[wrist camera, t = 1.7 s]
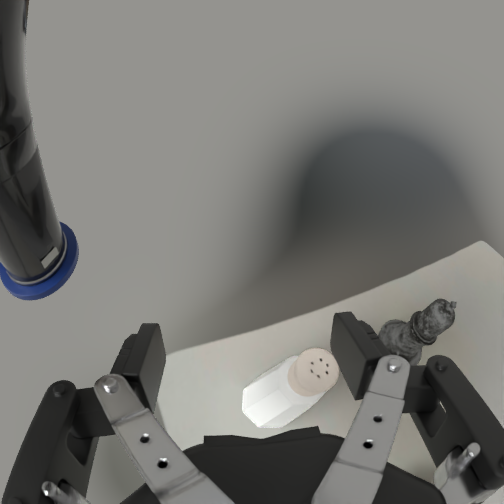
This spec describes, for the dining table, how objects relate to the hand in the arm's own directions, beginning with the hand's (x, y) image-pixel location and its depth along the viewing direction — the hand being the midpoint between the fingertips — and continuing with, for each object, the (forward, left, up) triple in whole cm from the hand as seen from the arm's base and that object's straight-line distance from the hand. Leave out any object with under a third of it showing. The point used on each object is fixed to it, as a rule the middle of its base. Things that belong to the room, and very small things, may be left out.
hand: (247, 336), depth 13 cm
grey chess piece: (+17, +8, -14) cm, 23 cm away
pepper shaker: (+5, +1, -14) cm, 15 cm away
